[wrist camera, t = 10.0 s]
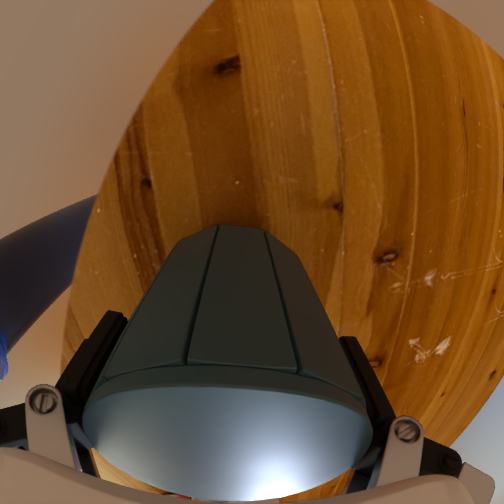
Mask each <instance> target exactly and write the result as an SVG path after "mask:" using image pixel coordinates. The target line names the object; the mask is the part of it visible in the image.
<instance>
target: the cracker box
mask: <svg viewBox="0 0 504 504" xmlns="http://www.w3.org/2000/svg"><path fill="white" fill-rule="evenodd" d="M163 496H169V497H174V498H181V499H188V500H192V499H191V498H189V497H186V496H183V495H180V494H163Z"/></svg>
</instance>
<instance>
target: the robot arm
mask: <svg viewBox="0 0 504 504" xmlns="http://www.w3.org/2000/svg"><path fill="white" fill-rule="evenodd" d="M127 323H128V320H127V318H126V317H124V316H123V314H122V313H120V312H115V311H110V310H108V311H107V312H106V313H105V315H104V316H103V318H102V319H101V321H100V322H99V323H98V325H97V326H96V328H95V329H94V331H93V332H92V334H91V335H90V337H89V338H88V339H85V340H84V341H83V342H82V344H81V345H80V347H79V348H78V350H77V351H76V353H75V354H74V356H73V358H72V359H71V361H70V362H69V364H68V366H67V367H66V369H65V370H64V372H63V374H62V375H61V377H60V379H59V380H58V382H57V384H56V385H55V387H54V386H51V385H48V384H40V385H36V386H35V387H33V388H31V390H29V392H28V393H27V395H26V399H25V403H22V404H19V405H15V406H11V407H7V408H4V409H0V504H231V503H215V502H204V501H195V500H188V499H181V498H174V497H169V496H163V495H158V494H154V493H149V492H145V491H141V490H137V489H133V488H129V487H126V486H122V485H119V484H115V483H112V482H109V481H106V480H103V479H101V477H100V475H99V472H98V469H97V466H96V463H95V460H94V457H93V453H92V450H91V448H93V446H92V444H91V443H90V442H89V440H88V438H87V437H86V435H85V433H84V429H83V426H82V415H83V412H84V406H85V404H86V402H87V400H88V398H89V396H90V394H91V392H92V389H93V387H94V385H95V383H96V381H97V379H98V377H99V375H100V373H101V371H102V369H103V367H104V365H105V363H106V361H107V360H108V358H109V356H110V354H111V352H112V350H113V348H114V346H115V344H116V343H117V341H118V339H119V337H120V335H121V333H122V332H123V330H124V328H125V326H126V324H127ZM339 342H340V344H341V346H342V348H343V350H344V353H345V355H346V357H347V359H348V361H349V364H350V366H351V368H352V370H353V373H354V375H355V377H356V379H357V382H358V384H359V386H360V389H361V391H362V393H363V396H364V398H365V403H366V410H367V414H368V417H369V419H370V422H371V425H372V429H373V437H372V441H371V444H370V447H369V448H368V450H367V452H366V453H365V455H364V456H363V457H362V458H361V459H360V460H359V461H358V462H357V463H356V464H355V465H353V466H352V469H351V471H350V474H349V476H348V479H347V481H346V484H345V486H344V489H343V491H342V493H341V495H340V496H335V497H329V498H323V499H316V500H308V501H299V502H288V503H272V504H489V503H490V501H491V498H492V496H493V493H494V490H495V482H494V480H493V478H492V477H490V476H489V475H487V474H485V473H483V472H482V471H480V470H478V469H476V468H474V467H472V466H471V465H469V464H467V463H466V462H464V463H463V464H462V460H461V457H460V455H459V454H458V453H457V452H456V451H455V450H453V449H450V448H448V447H446V446H444V445H441V444H439V443H437V442H434V441H432V440H430V439H428V438H425V437H424V430H423V427H422V425H421V424H420V422H419V421H418V420H416V419H415V418H413V417H411V416H406V415H403V416H399V417H396V416H395V414H394V411H393V409H392V407H391V405H390V403H389V401H388V399H387V397H386V395H385V393H384V391H383V389H382V387H381V385H380V383H379V381H378V379H377V377H376V375H375V373H374V371H373V369H372V367H371V365H370V363H369V361H368V359H367V357H366V355H365V354H364V352H363V350H362V348H361V346H360V344H359V342H358V340H357V339H356V337H354V336H341V337H340V338H339Z"/></svg>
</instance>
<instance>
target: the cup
mask: <svg viewBox="0 0 504 504" xmlns="http://www.w3.org/2000/svg"><path fill="white" fill-rule="evenodd" d="M82 426H83V429H84V433H85V435H86V437H87V438H88V440H89V442H90V443H91V444H92V446H93V447H94V448H95V449H96V450H97V451H98V452H99V453H100V454H101V455H102V456H103V457H104V458H105V459H106V460H107V461H109V462H110V463H111V464H112V465H114V466H115V467H117V468H118V469H120V470H121V471H123V472H125V473H126V474H128V475H130V476H132V477H134V478H136V479H138V480H140V481H142V482H144V483H146V484H149V485H151V486H154V487H157V488H159V489H162V490H165V491H169V492H172V493H176V494H180V495H184V496H189V497H194V498H201V499H208V500H219V501H253V500H264V499H271V498H277V497H283V496H287V495H291V494H295V493H299V492H302V491H306V490H309V489H311V488H314V487H317V486H319V485H322V484H324V483H326V482H328V481H330V480H332V479H334V478H336V477H337V476H339V475H341V474H343V473H344V472H345V471H347V470H348V469H350V468H351V467H352V466H353V465H355V464H356V463H357V462H358V461H359V460H360V459H361V458H362V457H363V456H364V455H365V453H366V452H367V450H368V448H369V447H370V444H371V441H372V437H373V429H372V425H371V422H370V419H369V417H368V414H367V410H366V403H365V398H364V396H363V393H362V391H361V389H360V386H359V384H358V382H357V379H356V377H355V375H354V373H353V370H352V368H351V366H350V364H349V361H348V359H347V357H346V355H345V353H344V350H343V348H342V346H341V344H340V342H339V340H338V337H337V335H336V333H335V331H334V329H333V327H332V325H331V322H330V320H329V318H328V316H327V314H326V312H325V310H324V308H323V306H322V304H321V301H320V299H319V297H318V295H317V293H316V291H315V289H314V287H313V285H312V283H311V281H310V279H309V277H308V275H307V273H306V271H305V269H304V267H303V265H302V263H301V261H300V259H299V257H298V256H297V254H296V253H294V252H293V251H292V250H290V249H289V248H288V247H287V246H285V245H284V244H283V243H281V242H280V241H279V240H277V239H276V238H275V237H273V236H272V235H271V234H270V233H268V232H267V231H264V232H263V229H257V228H249V227H241V226H233V225H225V224H220V227H219V226H218V225H214V226H212V227H210V228H207V229H205V230H202V231H200V232H198V233H195V234H193V235H191V236H188V237H186V238H184V239H181V240H180V241H179V242H177V244H176V245H175V247H174V248H173V250H172V251H171V253H170V254H169V255H168V257H167V258H166V260H165V261H164V263H163V264H162V266H161V267H160V269H159V270H158V272H157V274H156V275H155V277H154V279H153V280H152V282H151V283H150V285H149V287H148V288H147V290H146V292H145V293H144V295H143V297H142V298H141V300H140V302H139V303H138V305H137V307H136V309H135V310H134V312H133V314H132V316H131V317H130V319H129V321H128V323H127V324H126V326H125V328H124V330H123V332H122V333H121V335H120V337H119V339H118V341H117V343H116V344H115V346H114V348H113V350H112V352H111V354H110V356H109V358H108V360H107V361H106V363H105V365H104V367H103V369H102V371H101V373H100V375H99V377H98V379H97V381H96V383H95V385H94V387H93V389H92V392H91V394H90V396H89V398H88V400H87V402H86V404H85V406H84V412H83V415H82Z"/></svg>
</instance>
